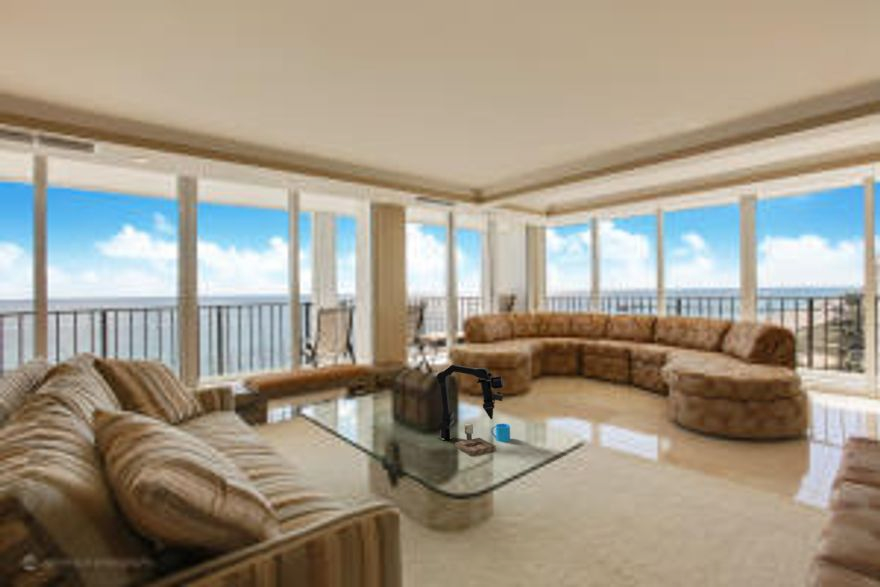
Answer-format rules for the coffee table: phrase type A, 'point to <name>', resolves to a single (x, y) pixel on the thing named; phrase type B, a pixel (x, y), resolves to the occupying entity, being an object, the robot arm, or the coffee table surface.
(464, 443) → the keyhole board
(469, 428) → the peg
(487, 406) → the robot arm
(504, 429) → the mug
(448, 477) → the coffee table surface
